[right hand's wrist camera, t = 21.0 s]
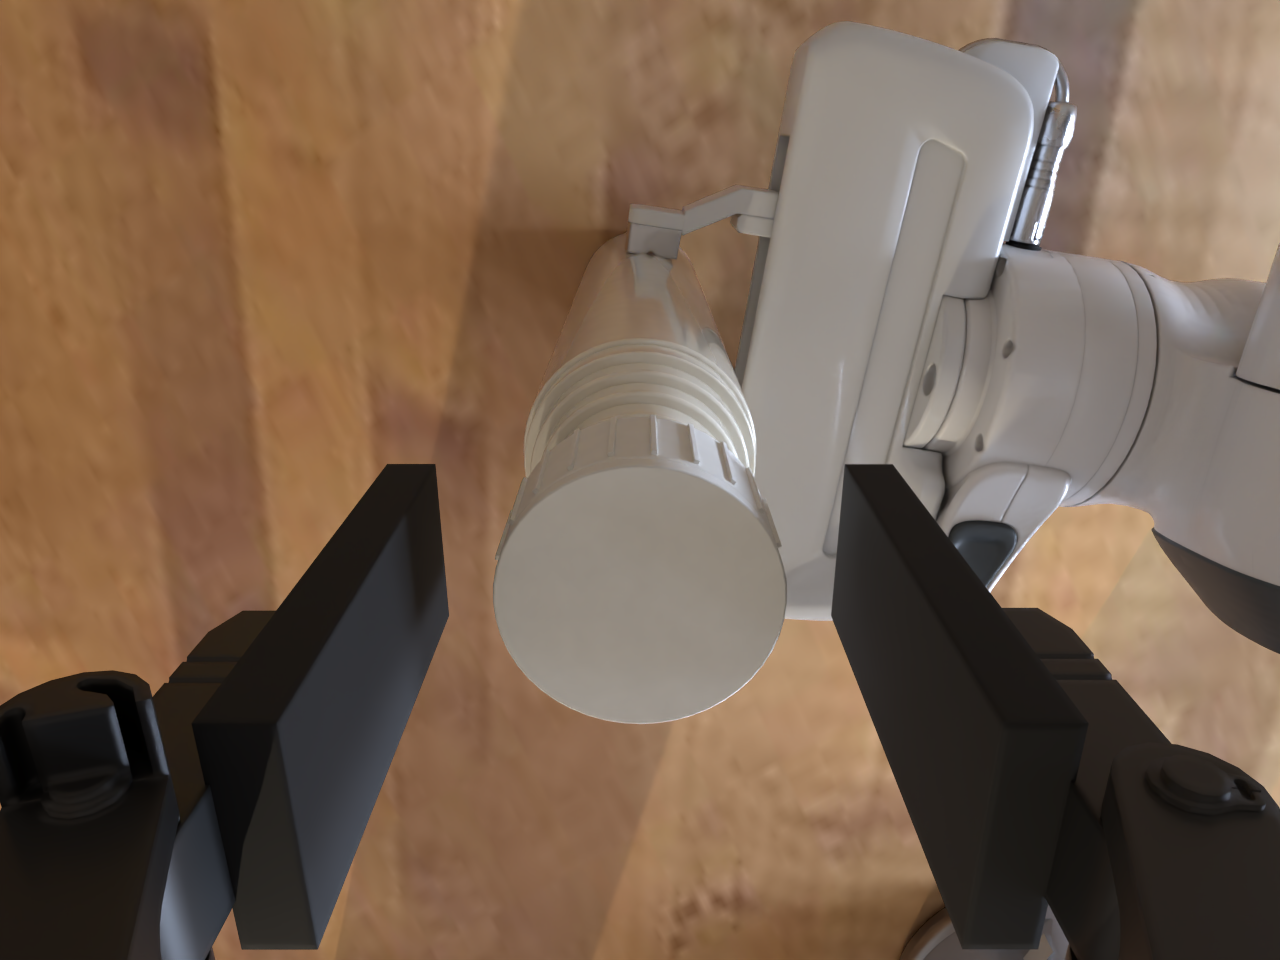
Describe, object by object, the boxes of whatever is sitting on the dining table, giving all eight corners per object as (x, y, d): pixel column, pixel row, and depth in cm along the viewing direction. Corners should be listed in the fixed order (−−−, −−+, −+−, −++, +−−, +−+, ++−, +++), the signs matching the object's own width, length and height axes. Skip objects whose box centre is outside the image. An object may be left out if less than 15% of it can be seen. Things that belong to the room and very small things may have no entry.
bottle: (719, 269, 36) (866, 525, 13) (660, 367, 38) (693, 759, 14) (618, 208, 36) (575, 361, 12) (561, 311, 37) (424, 630, 13)
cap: (684, 685, 16) (692, 769, 14) (466, 578, 15) (437, 650, 13) (820, 492, 14) (850, 553, 12) (587, 362, 13) (577, 405, 11)
